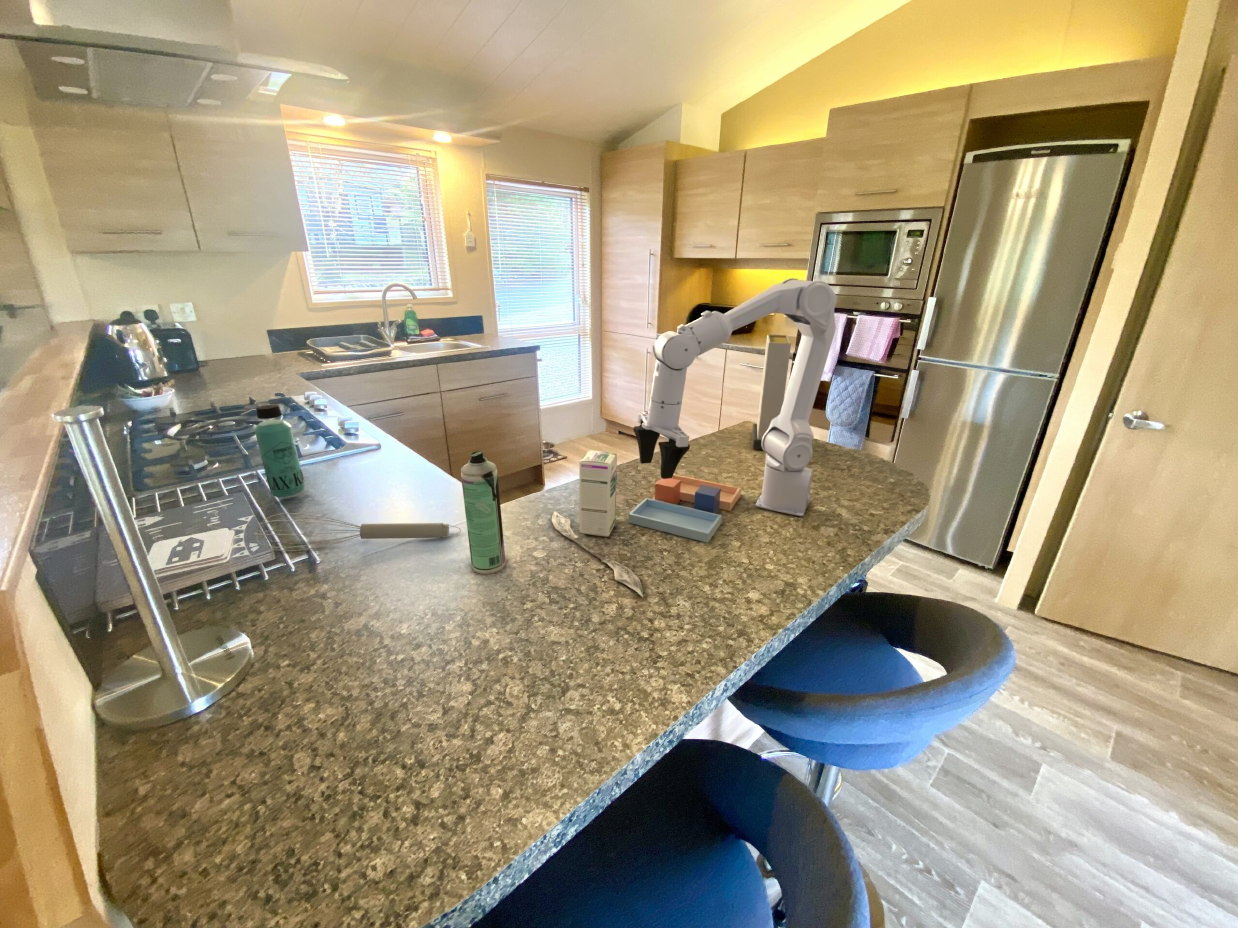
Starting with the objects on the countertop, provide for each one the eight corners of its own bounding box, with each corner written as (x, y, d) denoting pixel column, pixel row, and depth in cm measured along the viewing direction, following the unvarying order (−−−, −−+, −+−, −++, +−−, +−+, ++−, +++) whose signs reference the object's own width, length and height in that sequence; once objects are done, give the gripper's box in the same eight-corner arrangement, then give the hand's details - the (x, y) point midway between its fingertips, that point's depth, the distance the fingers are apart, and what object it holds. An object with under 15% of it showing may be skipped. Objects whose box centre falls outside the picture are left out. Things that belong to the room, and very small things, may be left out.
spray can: (511, 559, 88) (502, 449, 80) (494, 576, 83) (482, 461, 75) (483, 553, 89) (472, 444, 82) (465, 570, 84) (450, 456, 77)
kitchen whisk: (459, 544, 92) (455, 512, 90) (253, 560, 87) (243, 527, 85) (463, 527, 98) (459, 497, 95) (270, 541, 93) (261, 510, 90)
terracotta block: (679, 502, 108) (680, 480, 106) (672, 509, 105) (673, 487, 103) (662, 498, 110) (662, 476, 108) (654, 505, 106) (655, 483, 105)
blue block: (718, 510, 104) (720, 488, 103) (712, 519, 101) (714, 496, 99) (700, 506, 106) (701, 484, 104) (693, 514, 103) (694, 492, 101)
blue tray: (721, 523, 99) (721, 515, 99) (707, 542, 93) (708, 533, 92) (645, 505, 106) (646, 497, 106) (628, 522, 100) (628, 513, 99)
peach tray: (740, 495, 111) (741, 487, 110) (729, 511, 104) (730, 502, 104) (671, 481, 118) (671, 473, 117) (657, 494, 111) (657, 486, 111)
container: (777, 443, 149) (790, 336, 142) (782, 455, 131) (796, 333, 125) (751, 441, 150) (762, 335, 144) (752, 452, 133) (765, 332, 126)
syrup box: (609, 537, 94) (612, 463, 89) (578, 533, 95) (579, 459, 90) (615, 523, 99) (618, 452, 94) (586, 519, 100) (587, 449, 95)
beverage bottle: (264, 500, 107) (238, 408, 100) (294, 488, 113) (271, 399, 106) (286, 506, 105) (261, 412, 98) (315, 493, 111) (293, 403, 103)
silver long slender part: (557, 511, 103) (535, 518, 101) (556, 509, 103) (535, 516, 100) (664, 588, 80) (639, 600, 77) (664, 585, 80) (640, 597, 77)
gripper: (627, 390, 97) (619, 457, 102) (669, 412, 85) (657, 487, 90) (659, 390, 100) (649, 455, 105) (703, 411, 89) (690, 483, 94)
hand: (655, 470), depth 98 cm, fingers open, 7 cm apart
